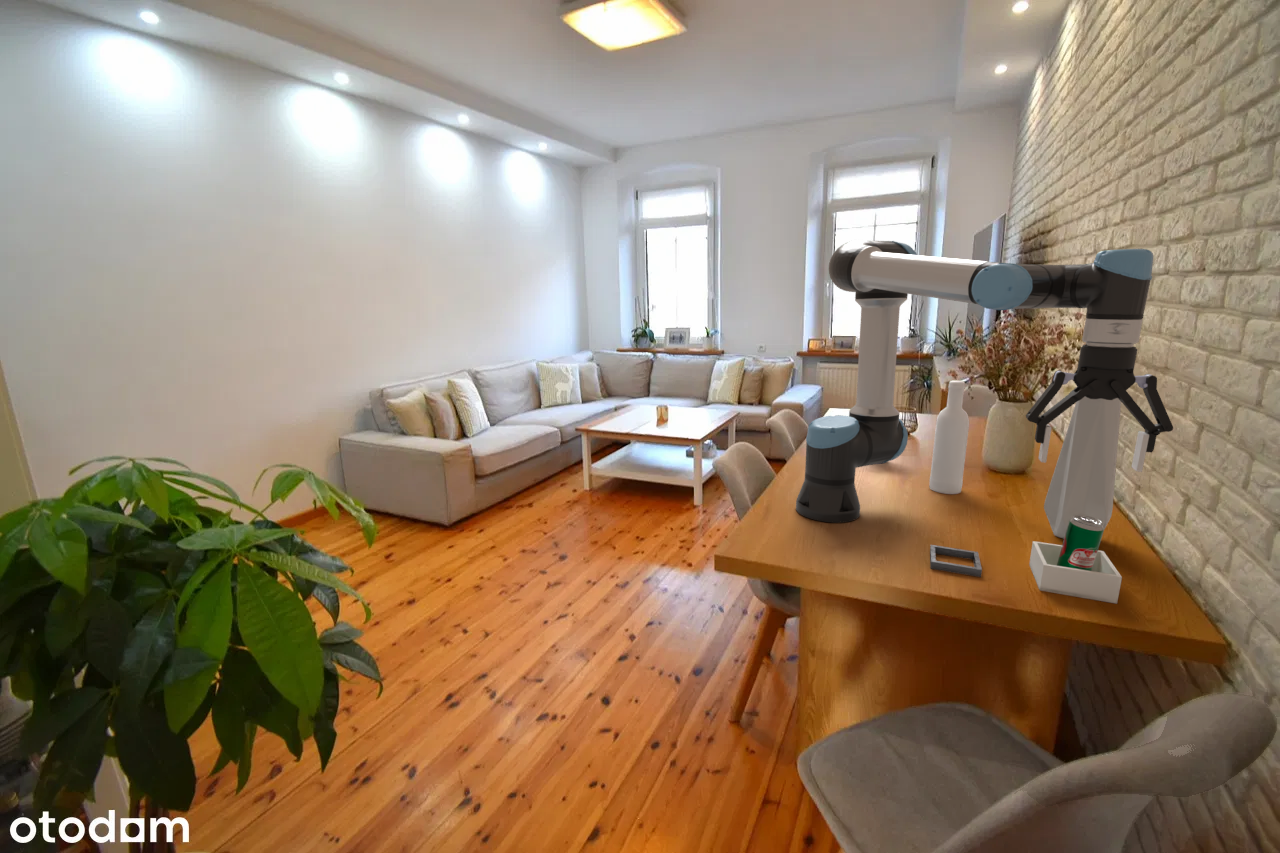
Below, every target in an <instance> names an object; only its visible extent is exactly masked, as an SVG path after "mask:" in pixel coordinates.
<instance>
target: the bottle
mask: <svg viewBox="0 0 1280 853" xmlns="http://www.w3.org/2000/svg"><path fill="white" fill-rule="evenodd" d="M947 387H948V390H947V391H948V393H947V400H946V406H945V407H944V408H943V409H942V410H940V412H939V413H938V414H937V417H936V422H935V431H934V432H935V433H934V440H933V447H932V448H933V450H932V459H931V469H930V475H929V485H928V488H929V489H930V490H932V491H933V492H936V493H939V494H945V495H957V494H960V493H961V492H962V489H963V488H962V487H963V483H964V482H963V480H964V478H963V477H964V471H965V464H966V462H965V461H966V454H967V447H968V446H967V445H968V439H969V438H968V437H969V429H970V418H969V415H968V413H967V411H966V410H965V409H964V408H963V404H964V403H963V402H964V393H965V389H966V382H965V381H963V380H950V381H949V384H948V386H947Z"/></svg>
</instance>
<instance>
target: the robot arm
mask: <svg viewBox="0 0 1280 853" xmlns="http://www.w3.org/2000/svg"><path fill="white" fill-rule="evenodd" d="M1153 264H1154V253H1153V252H1152V251H1151V250H1150V249H1147V248H1125V249H1123V248H1122V249H1109V250H1106V249H1105V250H1101V251H1100V250H1099V251H1098V252H1097V253H1096V255H1095V258H1094V260H1093V262H1091V263H1083V264H1029V263H1028V264H1025V263H1011V262H1010V263H1009V262H999V261H998V262H997V261H987V260H986V261H985V260H974V259H963V258H953V257H942V256H941V257H940V256H929V255H921V254H920V255H919V254H918V253H917V252H916V250H914V249H913V247H911V246H910V245H909V244H907V243H904V242H899V241H895V240H863V239H858V240H857V239H854V240H851V241H848V242H845V243H844V244H842V245H840V246H839V247H838V248H837V249H836V250H834V252H833V253H832V255H831V257H830V259H829V264H828V275H829V278H830V280H831V282H832V283H833V285H835V286H836V288H839V290H842V291H845V292H848V293H849V292H850V293H855V297H854V298H855V302H856V303H857V304H858V305H859V306H860V309H861V310H860V324H859V326H860V328H859V345H858V346H859V347H858V361H857V362H858V364H857V366H858V367H857V382H856V398H855V399H856V401H855V402H856V403H855V404H854V405H853V406H852V407H851V408H850V409H849V411H848V412H849V413H848V415H839V414H838V415H826V416H822V417H818V418H815V419H814V420H812V421H811V422H810V424H809V425H808V427H807V434H806V437H805V442H806V444H805V445H806V446H805V447H806V448H805V469H804V472H805V473H804V480H803V482H802V485H801V487H800V490H799V492H798V495H797V497H796V500H795V501H796V503H795V511H796V512H797V513H798V514H799V515H801V516H803V517H804V518H808V519H810V520H814V521H818V522H824V523H825V522H826V523H836V524H837V523H847V522H852V521H854V520H855V521H856V520H857V519H858V518H860V516H861V515H860V513H861V504H860V503H861V502H860V501H859V496H858V493H857V489H856V485H855V482H856V481H855V477H856V469H857V468H861V467H867V466H871V465H872V466H873V465H881V464H885V463H888V462H890V461H893V460H895V459H897V458H899V457H900V456H901V455H902V454H903V453H904V451H905V450H906V447H907V445H908V442H909V441H908V440H909V439H908V438H909V435H908V434H909V433H908V430H907V427H906V426H905V423H904V422H903V420H901V419H900V411H899V410H898V409H897V408H896V407H895V406H894V399H895V398H894V397H895V396H894V395H895V382H896V370H897V368H896V367H897V355H898V354H897V353H898V341H899V340H898V339H899V338H898V336H899V323H900V322H899V321H900V310H901V309H900V308H901V307H902V305H903V304H904V303H905V302H906V301H907V300H908V295H913V296H922V297H928V298H934V299H939V300H941V299H942V300H947V301H954V302H961V303H967V304H973V305H979V306H981V307H982V308H984V309H989V310H996V311H1007V310H1018V309H1024V310H1025V309H1086V315H1085V320H1084V321H1085V322H1084V327H1083V333H1082V338H1081V341H1082V342H1083V343H1085V344H1083V345H1082V346H1081V347H1080V350H1079V358H1078V361H1077V362H1078V363H1077V368H1076V370H1075V372H1073V373H1072V372H1065V371H1062V370H1056V371H1054V374H1053V376H1052V380H1051V382H1050V383H1049V385H1048V386H1047V387H1046V389H1045V390H1044V392H1042V394H1041V395H1040V396H1039V398H1038V399H1037V400H1036V401H1035V402H1034V403H1033V405H1032V407H1030V409H1029V410H1028V411H1027V413H1026V415H1025V418H1026V419H1027V421H1029V422H1031V423H1033V424H1036V428H1035V432H1034V434H1035V435H1034V440H1035V442H1036V443H1037V444H1040V447H1039V452H1038V460H1039V461H1040V463H1045V464H1046V463H1047V460H1048V453H1049V447H1050V440H1051V434H1052V429H1053V427H1052V426H1051V425H1050V423H1051V422H1052V421H1053V420H1055V419H1057V418H1058V417H1059V416H1060V415H1062V414H1063V413H1065V411H1067V410H1068V409H1069V408H1071V407H1072V406H1073V405H1075V404H1076V402H1077V401H1079V400H1081V399H1082V398H1084V397H1087V398H1089V399H1101V398H1102V399H1106V400H1113V399H1116V398H1118V399H1119V400H1120V401H1121V404H1123V406H1124V407H1125V408H1126V409H1127V410H1128V411H1129V413H1130V415H1132V416H1133V417H1134V418H1135V419H1136V421H1137V422H1138V424H1139V425H1140V426H1141V427H1142V428H1143V429H1144V431H1143V430H1142V431H1141V430H1138V432H1137V435H1136V442H1135V447H1134V452H1133V456H1132V462H1131V468H1132V469H1133V470H1134V471H1135V472H1138V473H1142V472H1143V469H1144V464H1145V460H1146V459H1145V458H1146V454H1147V453H1153V452H1154V450H1155V447H1156V446H1155V445H1156V440H1157V436H1159V435H1160V434H1161V433H1165V432H1167V433H1171V432H1172V431H1173V430H1174V426H1173V424H1172V422H1171V419H1170V417H1169V415H1168V412H1167V410H1166V407H1165V405H1164V403H1163V400H1162V399H1161V396H1160V394H1159V390H1158V389H1157V388H1158V377H1157V376H1155V375H1153V374H1150V373H1146V374H1144V375H1135V374H1134V371H1135V370H1134V369H1135V365H1136V360H1137V354H1138V348H1137V347H1136V346H1134V345H1136V344H1138V343H1139V341H1140V336H1141V333H1142V332H1141V331H1142V326H1143V325H1142V324H1143V319H1144V316H1145V315H1144V314H1145V309H1146V304H1147V298H1148V296H1149V295H1148V294H1149V290H1150V285H1151V281H1152V279H1153V276H1152V274H1153V273H1152V272H1153ZM1070 381H1073V383H1074V384H1075V385H1076V387H1075V388H1074V389H1072V390H1070V392H1069V393H1068V394H1067V395H1065V396H1064V397H1063V398H1062V399H1061V400H1059V401H1058V402H1057V403H1055V404H1054V405H1053V406H1052V407H1050V408H1049V409H1047V411H1045V412H1044V413H1043V411H1044V410H1046V408H1047V406H1048V405H1049V404H1050V402H1051V401H1052V400H1053V399H1054V398H1055V396H1056V395H1057V394H1058V392H1059V391H1060V389H1061V388H1062V387H1063V386H1064V385H1067V384H1068V382H1070ZM1134 384H1137V386H1138V387H1139V388H1141V389H1142V391H1143V393H1144V396H1145V397H1146V400H1147V403H1148V405H1149V407H1150V409H1151V412H1152V414H1153V415H1154V416H1153V417H1154V418H1155V421H1156V423H1153V421H1152V420H1151V419H1150V418H1149V417H1148V415H1147V414H1146V413H1145V412H1144V411H1143V409H1142V408H1141V407H1140V406H1139V405H1138V403H1137V402H1136V401H1135V400H1134V399H1133V397H1132V396H1131V395H1130V393H1128V392H1127V391H1128V390H1129V389H1130V388H1131V387H1132V386H1133V385H1134ZM1042 413H1043V414H1042Z"/></svg>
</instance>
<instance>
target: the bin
mask: <svg viewBox="0 0 1280 853" xmlns="http://www.w3.org/2000/svg"><path fill="white" fill-rule="evenodd" d="M1031 544H1032V545H1031V551H1030V558H1029V564H1028V565H1029V567H1030V570H1031V573H1032V574H1033V578H1034V580H1035V582H1036V585H1037V588H1038V589H1039V591H1042V592H1048V593H1051V594H1052V593H1054V594H1059V595H1064V596H1070V597H1077V598H1082V599H1088V600H1093V601H1099V602H1100V601H1101V602H1105V603H1110V604H1118V600H1119V595H1120V589H1121V585H1122V579H1123V577H1122V575H1121V574H1120V572H1119V571H1118V570H1117V568H1116V567H1115V565H1114V564H1113V562H1112V561H1111V560H1110V558H1109V556H1108V555H1107V554H1106V552H1105V551H1104V550H1098V551H1097V555H1096V558H1095V561H1094V564H1093V568H1092V571H1088V570H1081V569H1075V568H1069V567H1062V566H1057V562H1058V559H1059V555H1060V552H1061V548H1062V545H1063V544H1055V543H1050V542H1049V543H1047V542H1042V541H1036V540H1035V541H1033V540H1032V543H1031Z"/></svg>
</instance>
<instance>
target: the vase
mask: <svg viewBox="0 0 1280 853" xmlns="http://www.w3.org/2000/svg"><path fill="white" fill-rule="evenodd" d="M1121 407H1122V402H1121V401H1120V400H1119V399H1118V398H1116V399H1113V400H1106V399H1102V398H1101V399H1089V398H1087V397H1084V398H1082V399H1081V400H1079V401H1077V402H1076V403H1075V404H1074V407H1073V411H1072V414H1071V418H1070V421H1069V424H1068V426H1067V429H1066V430H1067V431H1066V433H1065V436H1064V439H1063V442H1062V447H1061V448H1060V453H1059V455H1058V458H1057V461H1056V465H1055V468H1054V472H1053V474H1052V476H1051V481H1050V484H1049V486H1048V490H1047V494H1046V497H1045V500H1044V504H1043V509H1044V512H1045V516H1046V517H1047V519H1048V523H1049V525H1050V528H1051V531H1052V532H1053V533H1052V534H1053V536H1055V537H1058V538H1061V539H1063V540H1064V538H1065V534H1066V531H1067V527H1068V524H1069V521H1070V520H1071V519H1072V518H1073V516H1074V515H1085V516H1089V517H1093V518H1095V519H1098V520H1100V521H1101V522H1102V523H1103V525H1102V526H1103V528H1104V530H1106V528H1107V525H1108V524H1109V522H1110V519H1111V518H1112V516H1113V515H1112V514H1113V507H1114V495H1115V483H1116V473H1117V472H1116V470H1117V458H1118V446H1119V434H1120V423H1121V412H1122V410H1121Z"/></svg>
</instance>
